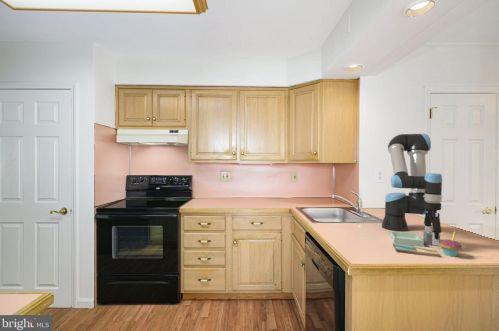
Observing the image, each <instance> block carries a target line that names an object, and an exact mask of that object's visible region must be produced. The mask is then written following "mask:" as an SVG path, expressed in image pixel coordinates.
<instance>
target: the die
mask: <svg viewBox="0 0 499 331" xmlns="http://www.w3.org/2000/svg"><path fill="white" fill-rule="evenodd" d="M422 237H423V238H422V240H423V241H424V245H425V246H431V247H440V246H438V245H433V232H432V231H431V232H427V231H425V230H424V231H423V236H422ZM440 241H441V234H440V235H439V244H440ZM440 248H441V247H440Z"/></svg>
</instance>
